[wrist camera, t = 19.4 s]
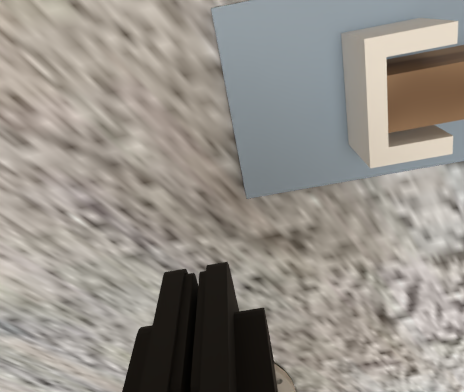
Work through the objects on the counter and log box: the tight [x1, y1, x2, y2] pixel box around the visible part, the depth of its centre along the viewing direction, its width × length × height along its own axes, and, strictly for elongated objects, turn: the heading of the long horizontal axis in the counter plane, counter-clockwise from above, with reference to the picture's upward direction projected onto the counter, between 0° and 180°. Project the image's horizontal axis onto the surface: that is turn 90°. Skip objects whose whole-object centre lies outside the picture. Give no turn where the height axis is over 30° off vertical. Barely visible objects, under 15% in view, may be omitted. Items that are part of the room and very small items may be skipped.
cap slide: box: [341, 18, 458, 168], centre depth 27 cm, size 8×5×5 cm, turn 10°
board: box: [211, 0, 464, 199], centre depth 30 cm, size 14×27×1 cm, turn 100°
